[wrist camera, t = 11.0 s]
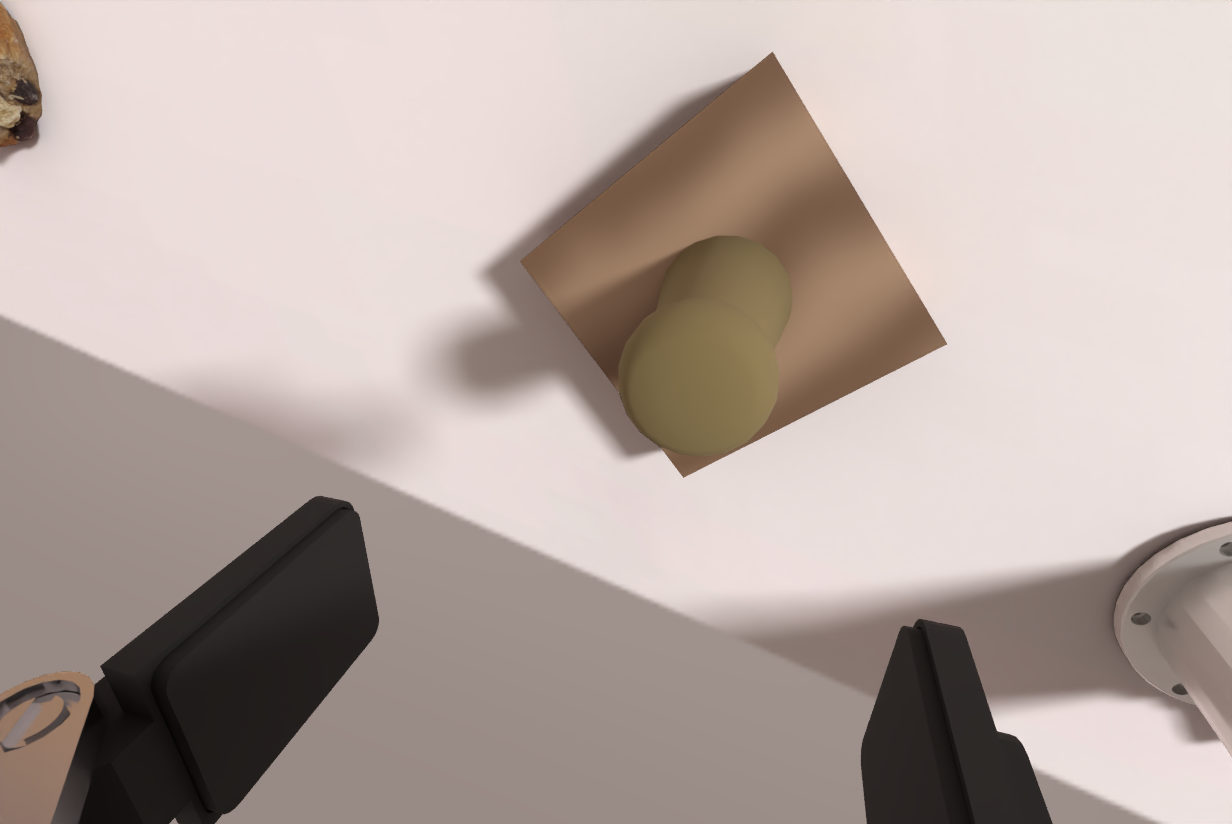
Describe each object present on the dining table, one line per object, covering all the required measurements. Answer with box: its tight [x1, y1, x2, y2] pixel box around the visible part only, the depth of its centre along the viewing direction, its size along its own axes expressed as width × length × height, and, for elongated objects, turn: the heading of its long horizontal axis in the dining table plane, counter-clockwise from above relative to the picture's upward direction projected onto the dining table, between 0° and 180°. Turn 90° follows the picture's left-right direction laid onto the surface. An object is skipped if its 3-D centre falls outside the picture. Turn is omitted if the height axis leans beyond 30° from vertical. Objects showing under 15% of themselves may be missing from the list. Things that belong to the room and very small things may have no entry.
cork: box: [619, 236, 793, 457], centre depth 23 cm, size 6×6×11 cm
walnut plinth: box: [520, 52, 947, 478], centre depth 30 cm, size 14×14×4 cm
